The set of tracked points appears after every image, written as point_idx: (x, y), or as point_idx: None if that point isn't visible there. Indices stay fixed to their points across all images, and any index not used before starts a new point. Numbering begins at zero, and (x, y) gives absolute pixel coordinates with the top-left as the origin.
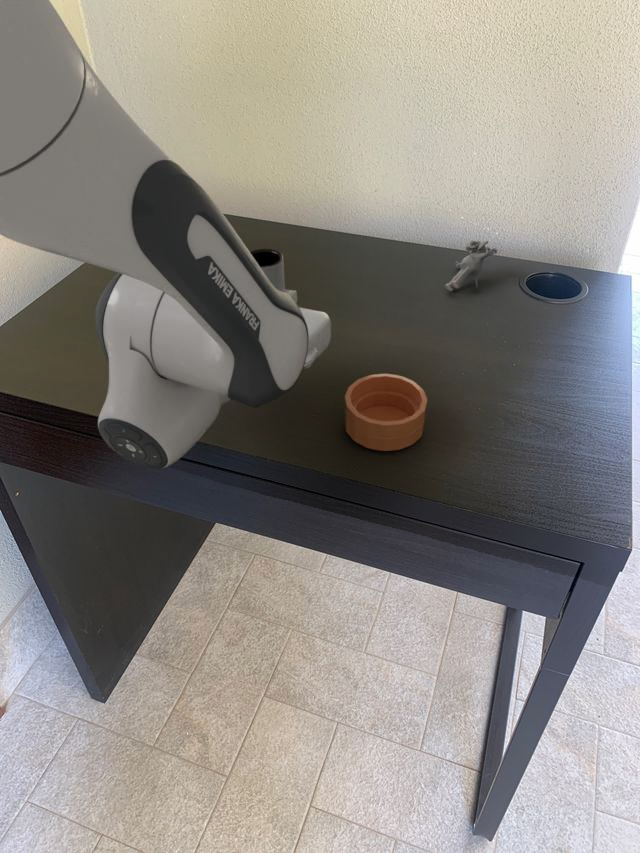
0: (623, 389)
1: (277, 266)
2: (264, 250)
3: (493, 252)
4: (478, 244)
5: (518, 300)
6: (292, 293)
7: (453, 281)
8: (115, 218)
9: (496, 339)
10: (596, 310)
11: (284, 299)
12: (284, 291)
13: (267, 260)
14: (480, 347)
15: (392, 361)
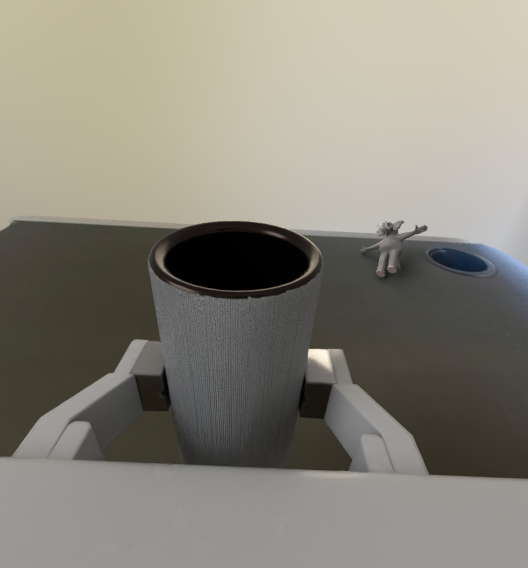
0: None
1: (320, 280)
2: (220, 227)
3: (422, 230)
4: (391, 225)
5: (450, 278)
6: (343, 365)
7: (390, 266)
8: None
9: (494, 332)
10: (523, 278)
11: None
12: (310, 361)
13: (230, 262)
14: (495, 349)
15: (425, 408)
